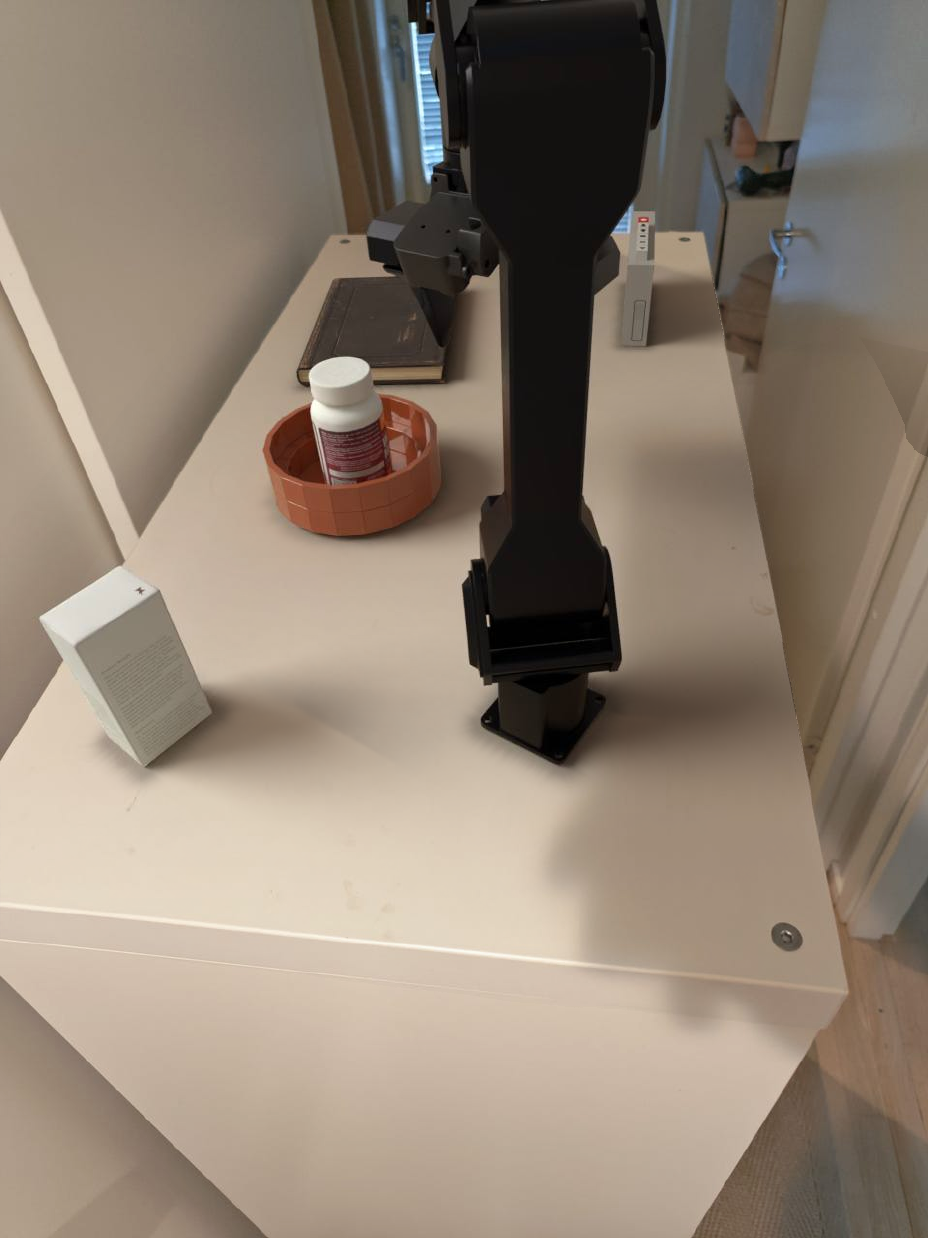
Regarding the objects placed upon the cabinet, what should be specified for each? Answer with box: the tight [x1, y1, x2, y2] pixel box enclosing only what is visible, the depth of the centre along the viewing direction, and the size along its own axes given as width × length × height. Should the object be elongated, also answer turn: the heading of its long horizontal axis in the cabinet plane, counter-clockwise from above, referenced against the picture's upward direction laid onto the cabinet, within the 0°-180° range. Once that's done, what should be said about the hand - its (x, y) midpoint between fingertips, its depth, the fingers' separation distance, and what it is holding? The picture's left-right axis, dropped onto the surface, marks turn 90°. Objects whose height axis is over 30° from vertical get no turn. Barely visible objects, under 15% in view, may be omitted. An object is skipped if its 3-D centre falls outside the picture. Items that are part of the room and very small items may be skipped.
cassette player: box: [621, 210, 656, 347], centre depth 97 cm, size 16×3×10 cm, turn 171°
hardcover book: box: [295, 275, 458, 387], centre depth 99 cm, size 16×23×2 cm
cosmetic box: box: [39, 565, 213, 768], centre depth 55 cm, size 6×4×12 cm
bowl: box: [262, 393, 442, 537], centre depth 76 cm, size 15×15×6 cm
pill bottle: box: [309, 357, 392, 485], centre depth 74 cm, size 6×6×11 cm
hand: (491, 357), depth 68 cm, fingers open, 9 cm apart
